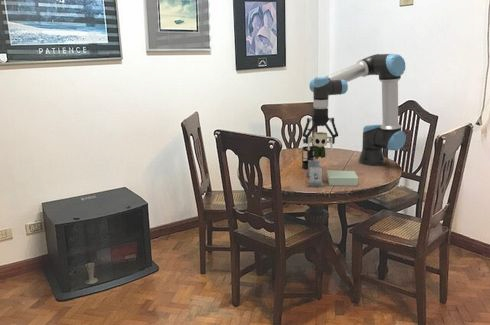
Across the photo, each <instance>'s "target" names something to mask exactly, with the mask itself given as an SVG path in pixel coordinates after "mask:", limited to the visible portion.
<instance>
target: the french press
mask: <svg viewBox="0 0 490 325" xmlns="http://www.w3.org/2000/svg"><path fill="white" fill-rule="evenodd" d="M310 129H311V128H308V129H307V131H309V130H310ZM311 134H312V133H311ZM311 134H310V135H309V137H312V135H311ZM311 141H313V138H311ZM302 142H303V144H306V138H305V137H304V138H302ZM311 144H312V143H310V150H308V145H306V146H303V147H302V149H301V150H302V151H301V152H302V153H301V155H302V156H301V159H302V160H301V164H302V165H301V169H304V170H308V160H319V158H315V157H314V156H313V155H314V149H315V147H316V146H315V145H311ZM304 152H306V155H304Z"/></svg>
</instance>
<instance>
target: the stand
mask: <svg viewBox="0 0 490 325" xmlns="http://www.w3.org/2000/svg"><path fill="white" fill-rule="evenodd" d="M326 178H327V182H328V185H329V186H341V187H342V186H344V187H345V186H347V187H350V186H351V187H352V186H354V187H355V186H357V187H358V183H359V182H358V180H359V176H358V175H357V173H356V171H355V170H326Z"/></svg>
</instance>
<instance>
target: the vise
mask: <svg viewBox="0 0 490 325" xmlns="http://www.w3.org/2000/svg"><path fill="white" fill-rule="evenodd" d="M320 163H321V161H320V159H318V160H317V159H313V160H308V169H307V172H305V178H309V181H307V187H310V188H311V187H312V188H324V187H325V184H324V182H323V180H322V179H323V167H322V166H320V165H321V164H320Z"/></svg>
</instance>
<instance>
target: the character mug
mask: <svg viewBox="0 0 490 325" xmlns="http://www.w3.org/2000/svg"><path fill="white" fill-rule="evenodd" d="M312 134H313V135H312V136H311V137H310V136H309V137H310V143H311V144H313V145H312V146H314V147H315V149H314V151H313V156H314V157H315V158H318V159H319V158H321V159H324V158H326V157H327V156H326V146H327V144H330V143H331V137H332V136H328V133H327V132H324V131H322V132H321V131H319V132H318V131H316V132H315V131H314V132H312ZM311 138H313V141H311Z"/></svg>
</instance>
